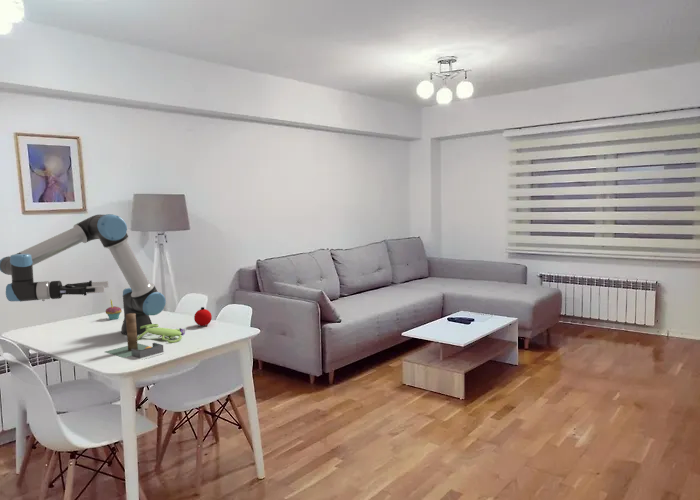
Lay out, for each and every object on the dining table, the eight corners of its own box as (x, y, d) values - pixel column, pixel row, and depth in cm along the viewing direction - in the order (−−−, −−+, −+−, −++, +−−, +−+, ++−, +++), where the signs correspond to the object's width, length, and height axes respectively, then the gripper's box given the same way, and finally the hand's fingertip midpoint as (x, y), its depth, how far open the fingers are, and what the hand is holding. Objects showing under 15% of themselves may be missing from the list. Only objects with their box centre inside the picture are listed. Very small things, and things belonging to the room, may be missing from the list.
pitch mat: (104, 354, 222) (103, 351, 222) (137, 345, 235) (137, 343, 235) (124, 360, 213) (123, 357, 213) (158, 350, 226) (157, 348, 225)
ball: (149, 352, 215) (145, 358, 217) (157, 350, 218) (153, 356, 220) (144, 345, 216) (140, 351, 218) (152, 343, 220) (148, 349, 221)
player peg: (126, 350, 224) (123, 314, 223) (134, 347, 227) (132, 312, 226) (131, 351, 222) (128, 315, 220) (139, 349, 225) (137, 313, 223)
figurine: (145, 332, 259) (145, 322, 259) (194, 333, 255) (193, 323, 255) (124, 342, 241) (123, 331, 241) (176, 344, 237) (175, 332, 237)
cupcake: (117, 320, 287) (116, 299, 286) (102, 320, 288) (101, 299, 286) (124, 316, 296) (123, 296, 295) (110, 317, 296) (109, 296, 295)
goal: (131, 357, 216) (131, 348, 215) (154, 351, 224) (154, 342, 224) (140, 360, 212) (139, 351, 211) (163, 353, 221) (163, 344, 220)
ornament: (209, 327, 266) (208, 308, 265) (192, 327, 266) (191, 309, 266) (214, 323, 275) (213, 305, 274) (197, 323, 275) (196, 305, 275)
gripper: (57, 294, 224) (110, 290, 231) (43, 304, 201) (102, 300, 207) (56, 277, 223) (109, 274, 230) (42, 285, 200) (101, 282, 207)
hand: (106, 286), depth 219 cm, fingers open, 13 cm apart
